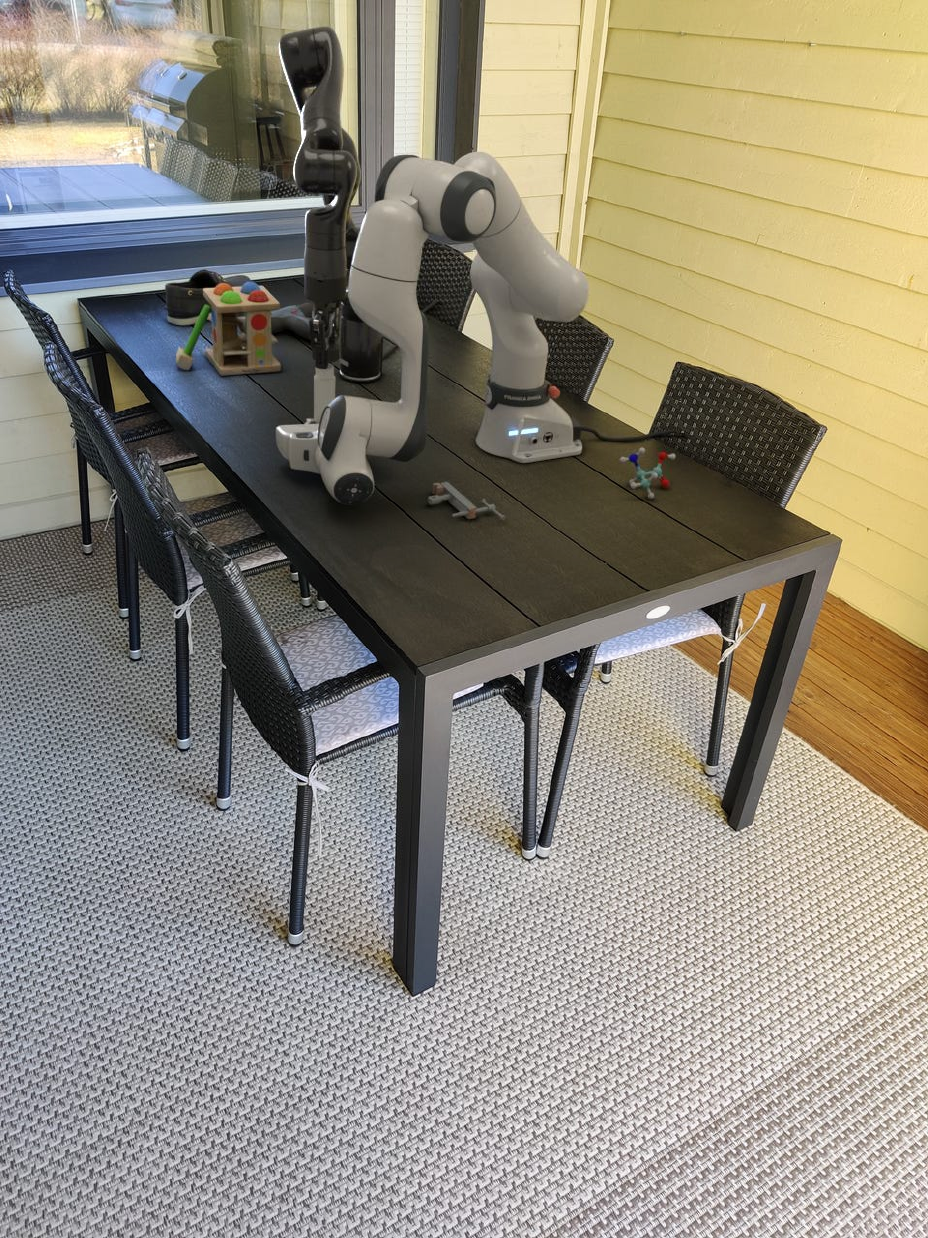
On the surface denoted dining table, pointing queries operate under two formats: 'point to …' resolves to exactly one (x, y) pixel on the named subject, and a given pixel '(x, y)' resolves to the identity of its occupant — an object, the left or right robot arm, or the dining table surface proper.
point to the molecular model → (641, 473)
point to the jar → (323, 390)
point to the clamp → (459, 501)
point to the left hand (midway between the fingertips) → (325, 362)
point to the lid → (329, 352)
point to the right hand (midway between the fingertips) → (323, 421)
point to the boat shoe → (194, 295)
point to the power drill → (294, 320)
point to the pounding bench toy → (229, 347)
